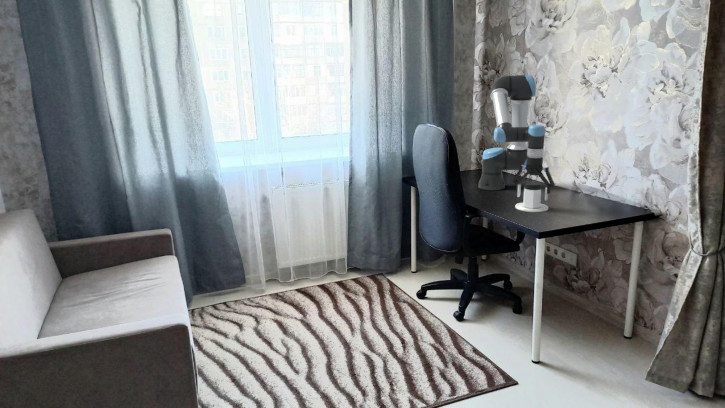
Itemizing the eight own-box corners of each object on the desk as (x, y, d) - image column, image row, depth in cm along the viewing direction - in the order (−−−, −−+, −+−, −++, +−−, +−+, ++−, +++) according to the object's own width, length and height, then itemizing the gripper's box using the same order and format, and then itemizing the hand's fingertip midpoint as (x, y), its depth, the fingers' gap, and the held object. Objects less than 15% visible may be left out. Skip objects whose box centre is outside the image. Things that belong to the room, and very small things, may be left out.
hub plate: (509, 205, 257) (509, 203, 256) (537, 202, 259) (537, 201, 259) (525, 213, 241) (525, 211, 241) (554, 210, 244) (554, 209, 244)
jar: (541, 208, 245) (542, 185, 242) (524, 208, 247) (525, 185, 244) (538, 204, 254) (540, 181, 251) (522, 203, 255) (523, 181, 252)
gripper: (507, 156, 247) (505, 196, 253) (559, 160, 234) (556, 203, 239) (512, 153, 253) (510, 193, 259) (563, 157, 240) (559, 199, 245)
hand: (532, 198), depth 249 cm, fingers open, 13 cm apart
